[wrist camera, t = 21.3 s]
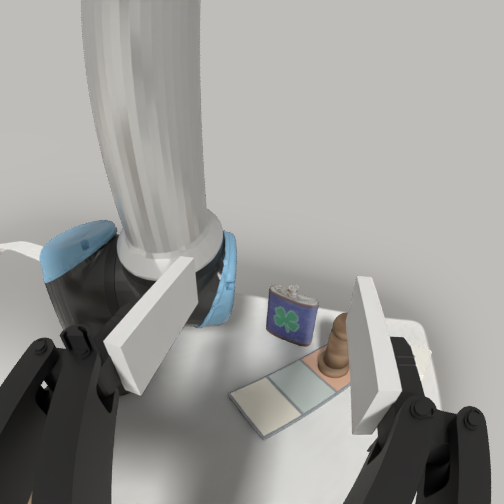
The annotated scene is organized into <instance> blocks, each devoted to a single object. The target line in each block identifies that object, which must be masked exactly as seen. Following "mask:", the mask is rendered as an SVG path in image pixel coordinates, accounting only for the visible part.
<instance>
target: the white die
mask: <svg viewBox="0 0 504 504" xmlns="http://www.w3.org/2000/svg"><path fill="white" fill-rule="evenodd" d="M408 344H409V345H410V346H411V349H412V352H413V358H414V359H415V362H416V366H417V369H418V373H419V376H420V380H421V381H422V379H423V377H424V375H425V372H426V369H427V366H428V363H429V360H430V356H431V353H432V351H430V350H427V349H424V348H422V347H419V346H417V345H414V344H412V343H409V342H408Z"/></svg>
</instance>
